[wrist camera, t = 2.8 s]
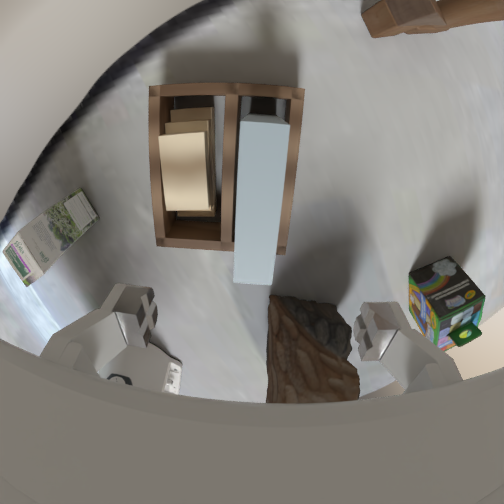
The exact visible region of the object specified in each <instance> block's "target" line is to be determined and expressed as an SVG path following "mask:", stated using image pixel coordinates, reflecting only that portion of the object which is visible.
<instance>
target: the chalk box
mask: <svg viewBox="0 0 504 504" xmlns="http://www.w3.org/2000/svg"><path fill="white" fill-rule="evenodd" d="M484 302H485V295H484V294H483V293H482V291H481V290H480V289H479V288H478V287H477V285H476V284H475V283H474V282H473V281H472V280H471V278H470V277H469V276H468V275H467V274H466V273H465V272H464V271H463V270H462V268H461V267H460V266H459V265H458V264H457V263H456V262H455V261H454V260H453V259H452V258H451V257H450V256H449V257H447V258H445V259H442V260H440V261H438V262H435V263H433V264H431V265H428V266H426V267H423V268H421V269H418V270H416V271H413V272H411V273H409V311H410V313H411V314H412V316H413V318H414V320H415V321H416V323H417V325H418V327H419V329H420V330H421V332H422V334H423V336H424V337H426V338H427V339H428V340H430V341H431V342H432V343H434V344H435V345H436V346H437V347H439V348H440V349H441V350H443V351H444V352H445V351H447V350H449V349H450V348H452V347H454V346H456V345H457V346H458V347H461V346H463V345H465V344H467V343H469V342H471V341H472V340H474V339H476V338H478V337H479V336H481V335H482V332H481V330H479V329H478V324H479V322H480V320H481V317H482V310H483V306H484Z"/></svg>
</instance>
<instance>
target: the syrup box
mask: <svg viewBox="0 0 504 504" xmlns="http://www.w3.org/2000/svg"><path fill="white" fill-rule="evenodd" d="M98 220H99V217H98V215H97V213H96V212H95V210H94V209H93V207H92V205H91V204H90V202H89V201H88V199H87V197H86V196H85V194H84V192H83V191H82V189H81V188H79V189H77V190H76V191H74V192H73V193H71V194H70V195H68V196H66V197H65V198H63V199H62V200H60V201H59V202H58V203H56V204H55V205H53V206H52V207H50V208H49V209H47V210H46V211H45V212H43V213H42V214H40V215H39V216H38V217H36V218H35V219H34V220H32V221H31V222H30V223H28V224H27V225H26V226H24V227H23V228H22V229H21V230H19V231H18V232H17V234H16V235H15V236H14V237H13V239H12V240H11V241H10V242H9V244H8V245H7V246H6V247H5V249H4V250H3V253H4V255H5V257H6V258H7V260H8V261H9V263H10V264H11V266H12V267H13V269H14V270H15V272H16V273H17V274H18V276H19V277H20V279H21V280H22V281H23V283H24V284H25V285H26V287H28V286H29V285H30V284H32V283H33V282H35V281H36V280H37V279H38V278H40V277H41V276H42V275H44V274H45V273H46V272H47V271H48V270H49V268H50V267H51V266H52V265H53V264H54V263H55V262H56V261H57V260H58V259H59V258H60V257H61V255H62V254H63V253H64V252H65V251H66V250H67V249H68V248H69V247H70V246H71V245H72V244H73V243H74V242H75V241H76V240H77V239H78V238H80V237H81V236H82V235H83V234H84V233H85V232H86V231H87V230H88V229H89V228H90V227H91V226H92V225H93V224H94V223H95V222H96V221H98Z"/></svg>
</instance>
